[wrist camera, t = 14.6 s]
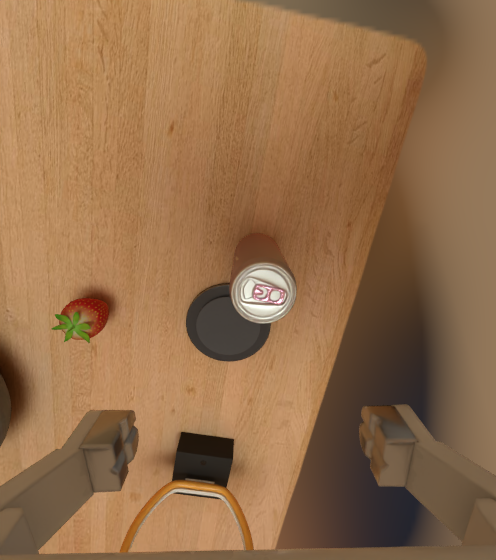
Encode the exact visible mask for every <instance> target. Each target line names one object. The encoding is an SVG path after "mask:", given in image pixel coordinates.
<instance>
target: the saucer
mask: <svg viewBox="0 0 496 560" xmlns="http://www.w3.org/2000/svg"><path fill="white" fill-rule="evenodd" d="M229 286H230V284H219V285H215V286H212V287H210V288H208V289H206V290H204V291H203V292H201V293H200V294H199V295H198V296H197V297H196V298H195V299H194V301H193V302H192V304H191V306H190V308H189V310H188V313H187V318H186V327H187V332H188V335H189V337H190V339H191V341H192V343H193V344H194V345H195V347H196V348H197V349H198V350H199V351H200V352H202V353H203V354H205V355H206V356H208V357H210V358H213V359H216V360H220V361H238V360H242V359H245V358H247V357H250V356H251V355H253V354H255V353H256V352H257V351H258V350H259V349H260V348H261V347H262V346H263V345H264V343H265V342H266V340H267V338H268V336H269V332H270V326H271V323H255V322H251V321H249V320H247V319H245V318H244V317H242V316H241V315H240V314H239V313H238V312H237V310H236V309H235V307H234V305H233V303H232V300H231V297H230V292H229Z"/></svg>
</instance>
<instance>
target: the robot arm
mask: <svg viewBox="0 0 496 560" xmlns="http://www.w3.org/2000/svg"><path fill="white" fill-rule="evenodd" d="M361 415H362V418H363V420H364V421H363V422H362V423H361V425H360V429H359V435H360V443H361V446H362V449H363V451H364V454H365V455H366V456H367V457H368V458H369V459H371V466H370V467H371V470H372V472H373V474H374V476H375V478H376V481H377V483H378V485H379V486H406V489H407V490H408V491H409V492H410V493H412V494H413V495H414V496H415V497H416V498H417V499H418V500H419V501H420V502H421V503H422V504H423V505H424V506H425V507H426V508H427V509H428V510H429V511H430V512H431V513H432V514H433V515H435V516H436V517H437V518H438V519H439V520H440V521H441V522H442V523H443V524H444V525H445V526H446V527H447V528H448V529H449V530H450V531H451V532H452V533H453V534H454V535H455V536H457V537H458V538H459V539H460V540H461V541H462V545H461V546H419V547H374V548H372V547H370V548H324V549H278V550H277V549H275V550H222V551H171V552H120V553H70V554H39V552H38V550H39V549H40V548H41V547H42V546H43V545H44V544H45V543H46V542H47V541H48V540H49V539H50V538H51V537H52V536H53V535H54V534H55V533H56V532H57V531H58V530H59V529H60V528H61V527H62V526H63V525H64V524H65V523H66V522H67V521H68V520H69V519H70V518H71V517H72V516H73V515H74V514H75V513H76V512H77V510H78V509H79V508H80V507H81V506H82V505H83V504H84V503H85V502H86V501H87V500H88V499H89V498H90V497H91V496H92V495H93V494H94V493H93V492H112V491H121V488H122V486H123V484H124V481H125V479H126V476H127V474H128V472H129V471H128V466H127V464H129V463H130V462H131V461H132V460H133V459H134V457H135V454H136V452H137V447H138V438H139V435H138V429H137V428H136V427H135V426H134V422H135V420H136V417H135V412H134V411H132V410H90V411H89V412H87V413H86V414H85V416H84V417H83V419H82V420H81V421H80V423H79V424H78V426H77V427H76V429H75V430H74V431H73V433H72V434H71V436H70V437H69V438H68V440H67V441H66V443H65V444H64V446H63V447H62V448H61V449H56V450H54V451H53V452H51V453H50V454H48V455H47V456H45V457H44V458H42V459H41V460H39V461H38V462H36V463H35V464H33V465H32V466H30V467H29V468H27V469H26V470H24V471H23V472H21V473H20V474H18V475H17V476H15V477H14V478H12V479H11V480H9V481H8V482H6V483H5V484H3V485H2V486H0V560H496V476H495V475H494V474H492V473H490V472H489V471H487V470H485V469H484V468H482V467H480V466H479V465H477V464H475V463H474V462H472V461H471V460H469V459H468V458H466V457H464V456H463V455H461V454H459V453H458V452H456V451H454V450H453V449H451V448H450V447H448V446H447V445H445V444H443V443H442V442H436V441H435V440H434V438H433V437H432V436H431V434H430V433H429V432H428V430H427V429H426V428H425V427H424V425H423V424H422V422H421V421H420V420H419V418H418V417H417V416H416V415H415V413H414V412H413V411H412V409H411V408H410V407H409V406H408V405H406V404H405V405H382V406H364V407H363V408H362V413H361Z"/></svg>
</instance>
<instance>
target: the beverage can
mask: <svg viewBox="0 0 496 560" xmlns="http://www.w3.org/2000/svg"><path fill="white" fill-rule="evenodd" d="M296 290H297V286H296V280H295V277H294V275H293V273H292V271H291V269H290V267H289V266H288V264H287V262H286V260H285V258H284V256H283V255H282V253H281V251H280V249H279V247H278V245H277V244H276V242H275V241H274V240H273V239H272V238H271V237H269V236H268V235H265V234H262V233H253V234H249V235H247V236H245V237H244V238H242V239H241V240H240V241H239V243H238V244H237V246H236V249H235V253H234V260H233V266H232V273H231V279H230V286H229V292H230V297H231V300H232V303H233V305H234V307H235V309H236V310H237V312H238V313H239V314H240V315H241V316H242V317H244V318H245V319H247V320H249V321H251V322H255V323H271V322H275V321H277V320H279V319H281V318H283V317H284V316H285V315H286V314H287V313H288V312H289V311H290V310H291V308H292V307H293V305H294V302H295V299H296Z"/></svg>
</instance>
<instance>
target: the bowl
mask: <svg viewBox="0 0 496 560" xmlns="http://www.w3.org/2000/svg"><path fill="white" fill-rule="evenodd" d="M10 417H11V400H10V395H9V392H8V389H7V386H6V384H5V381H4V379H3V377H2V376H1V374H0V446H1V445H2V443H3V441H4V439H5V437H6V434H7V431H8V428H9V423H10Z"/></svg>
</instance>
